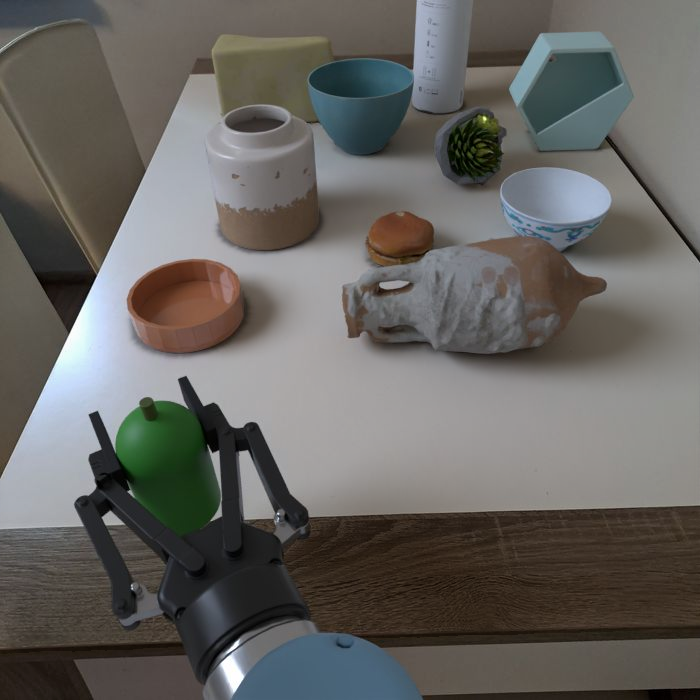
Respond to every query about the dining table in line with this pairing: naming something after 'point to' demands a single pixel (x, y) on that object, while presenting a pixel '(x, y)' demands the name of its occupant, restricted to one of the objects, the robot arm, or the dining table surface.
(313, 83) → the plant pot
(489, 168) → the potted plant
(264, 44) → the cheese
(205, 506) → the green pepper
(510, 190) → the chinaware
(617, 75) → the planter
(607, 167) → the dining table surface
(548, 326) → the amphora
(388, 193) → the dining table surface
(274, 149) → the vase
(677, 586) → the dining table surface
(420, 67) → the white tall cylinder
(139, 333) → the orange bowl
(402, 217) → the burger
